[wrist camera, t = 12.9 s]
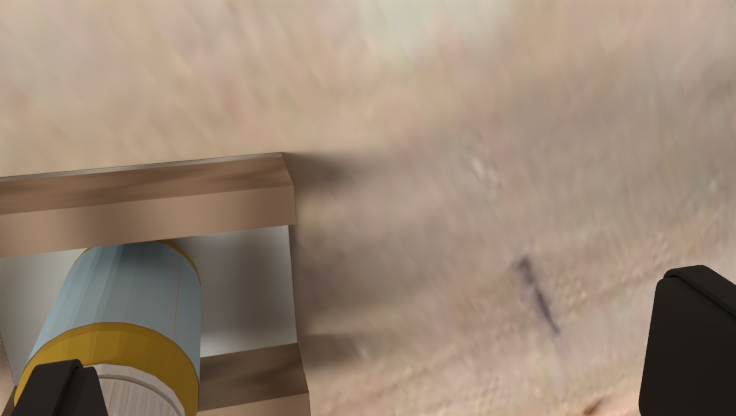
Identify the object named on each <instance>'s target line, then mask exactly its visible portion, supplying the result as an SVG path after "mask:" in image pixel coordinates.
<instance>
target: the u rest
mask: <svg viewBox="0 0 736 416" xmlns="http://www.w3.org/2000/svg"><path fill="white" fill-rule="evenodd" d="M293 224H297V222H296V208H295V195H294V185H293V182H292V179H291V177H290V174H289V172H288V169H287V167H286V164H285V161H284V159H283V156H282V154H281V152H278V153H267V154H256V155H244V156H233V157H222V158H211V159H200V160H189V161H177V162H166V163H155V164H144V165H133V166H122V167H111V168H99V169H88V170H77V171H66V172H55V173H44V174H32V175H21V176H10V177H0V335H1V338H2V342H3V345H4V349H5V353H6V356H7V360H8V363H9V367H10V370H11V374H12V377H13V381H14V384H15V387H14V389H13V392H12V394H11V396H10V398H9V400H8V402H7V405H6V407H5V409H4V411H3V413H2V415H1V416H11V414H12V412H13V410H14V408H15V405H14V398H15V393H16V390H17V387H18V384H19V381H20V379H21V376H22V373H23V371H24V368H25V366H26V363H27V361H28V359H29V357H30V355H31V353H32V350H33V348H34V346H35V344H36V342H37V340H38V337H39V335H40V333H41V331H42V329H43V327H44V324H45V322H46V320H47V318H48V316H49V313H50V311H51V309H52V307H53V305H54V303H55V300H56V298H57V296H58V294H59V292H60V290H61V287H62V285H63V283H64V281H65V279H66V277H67V274H68V272H69V270H70V269H71V267H72V266H73V264H74V262H75V261H76V260H77V259H78V257H79V256H80V255H81V254H82V253H83V252H84V251H85V250H86V249H87V248H92V247H101V246H110V245H118V244H127V243H136V242H145V241H153V240H162V239H165V240H167V241H169V242H171V243H172V244H174V245H175V246H177V247H178V248H180V249H181V250H183V251H184V252H185V253H186V254H187V256H188V257H189V258H190V260H191V261H192V262H193V263H194V265H195V267H196V269H197V272H198V275H199V278H200V281H201V291H202V294H201V337H200V380H199V401H198V410H197V414H196V416H311V412H310V399H309V391H308V386H307V382H306V378H305V374H304V369H303V365H302V361H301V357H300V352H299V348H298V344H297V334H296V321H295V308H294V296H293V283H292V270H291V258H290V245H289V232H288V225H293Z"/></svg>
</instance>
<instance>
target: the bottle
mask: <svg viewBox="0 0 736 416" xmlns="http://www.w3.org/2000/svg"><path fill="white" fill-rule="evenodd" d="M201 294H202V291H201V281H200V278H199V275H198V272H197V269H196V267H195V265H194V263H193V262H192V261H191V260H190V258H189V257H188V256H187V254H186V253H185V252H184V251H183V250H181V249H180V248H178V247H177V246H175V245H174V244H172V243H171V242H169V241H167V240H165V239H162V240H153V241H145V242H136V243H127V244H118V245H110V246H101V247H92V248H87V249H86V250H85V251H84V252H83V253H82V254H81V255H80V256H79V257H78V259H77V260H76V261H75V262H74V264H73V266H72V267H71V269H70V270H69V272H68V274H67V277H66V279H65V281H64V283H63V285H62V287H61V290H60V292H59V294H58V296H57V298H56V300H55V303H54V305H53V307H52V309H51V311H50V313H49V316H48V318H47V320H46V322H45V324H44V327H43V329H42V331H41V333H40V335H39V337H38V340H37V342H36V344H35V346H34V348H33V350H32V353H31V355H30V357H29V359H28V361H27V363H26V366H25V368H24V371H23V373H22V376H21V379H20V381H19V384H18V387H17V390H16V393H15V398H14V405H15V406H16V403H17V401H18V399H19V397H20V395H21V393H22V391H23V389H24V387H25V385H26V383H27V381H28V378H29V376H30V374H31V372H32V370H33V369H34V367H35V366H36V365H39V364H45V363H52V362H58V361H65V360H71V359H78V360H80V361H81V363H82V365H83V368H84V367H90V366H93V367H94V368H95V369H96V371H97V374H98V378H99V382H100V385H101V389H102V393H103V397H104V401H105V405H106V408H107V412H108V416H196V414H197V410H198V401H199V380H200V337H201Z"/></svg>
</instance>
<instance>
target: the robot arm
mask: <svg viewBox="0 0 736 416" xmlns="http://www.w3.org/2000/svg"><path fill="white" fill-rule="evenodd" d="M639 411H640V414H641V416H736V285H735V284H733V283H732V282H730V281H729V280H727V279H726V278H724V277H722V276H721V275H719V274H718V273H716V272H715V271H713V270H712V269H710V268H709V267H706V266H704V265H695V266H689V267H682V268H675V269H670V270H669V271H667V272H666V273H665V275H664V277H663V279H661V280H659V282H658V283H657V286H656V291H655V297H654V304H653V310H652V317H651V323H650V330H649V337H648V343H647V350H646V356H645V363H644V369H643V376H642V382H641V389H640V395H639ZM11 416H108V412H107V408H106V405H105V401H104V397H103V393H102V389H101V385H100V382H99V378H98V374H97V371H96V369H95V368H94V367H93V366H90V367H84V368H83V365H82V363H81V361H80V360H78V359H71V360H65V361H58V362H52V363H45V364H39V365H36V366H35V367H34V369H33V370H32V372H31V374H30V376H29V378H28V381H27V383H26V385H25V387H24V389H23V391H22V393H21V395H20V397H19V399H18V401H17V403H16V406H15V408H14V410H13V412H12V414H11Z"/></svg>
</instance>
